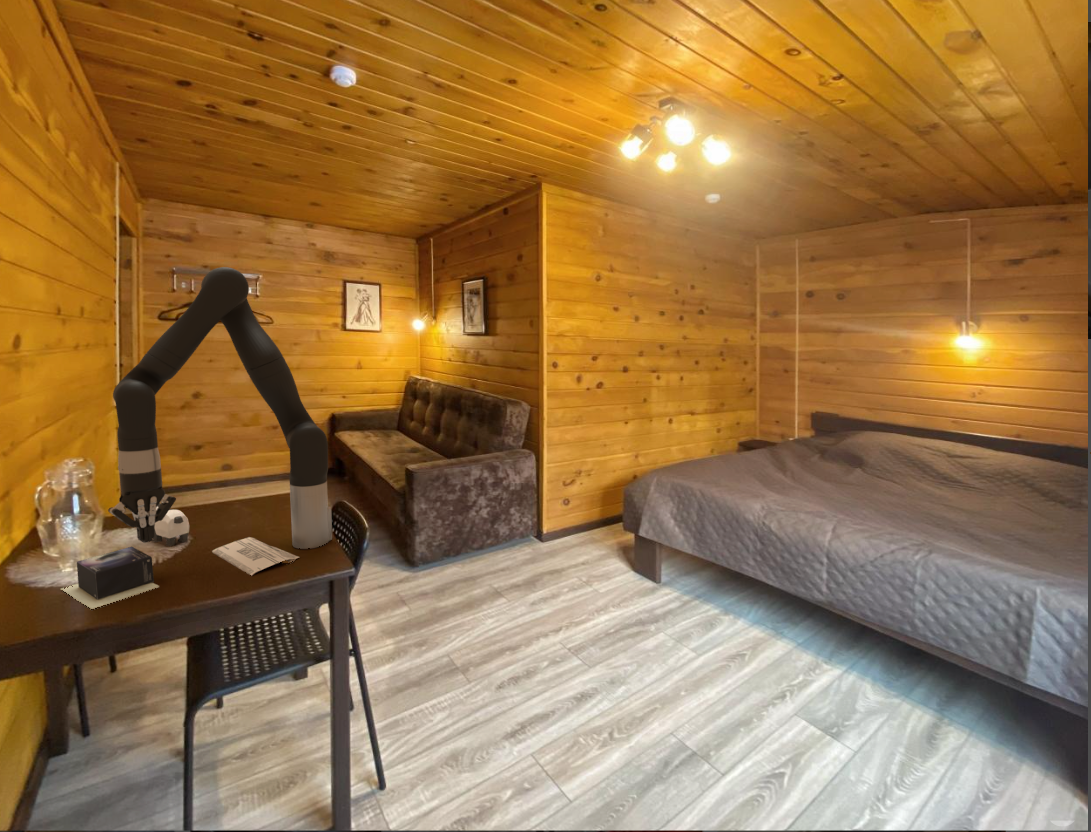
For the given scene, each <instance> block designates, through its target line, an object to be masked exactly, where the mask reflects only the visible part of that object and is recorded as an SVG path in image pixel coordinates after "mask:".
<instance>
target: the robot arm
mask: <svg viewBox="0 0 1091 832" xmlns="http://www.w3.org/2000/svg"><path fill="white" fill-rule="evenodd" d="M200 286H201V287H200V290H199V292H198V294H196V295H197V296H196V297H195V299H194V300H193V301H192V303H191V304H190V305H189V306H188V308H187V309H186V310H185V311H184V312H183V314H182V315H181V316H179V318H178V319H177V320H176V321H175V322H174V323H173V324H172V325H170V327H169V328H168V329H167V330H166V331H164V333H162V334H161V336H160V337H159V338H158V339H157V340H156V341H155V343H154V344H153V345H152V346H150V348H149V349H148V350H147V352H146V353H145V354H144V355H143V356H142V358H141V360H140V361H139V362H138V364H136V365H135V366H134V367H133V368H132V369H131V370H130V371H129V372H128V373H127V374H126V375H125V376H123V378H122V379H121V380H120V381H119V382H118V383H117V385H116V386H115V387H114V389H113V392H112V397H113V400H114V402H115V409H116V414H117V415H116V416H117V417H116V418H117V423H118V427H117V433H116V434H117V435H116V436H117V447H118V457H117V461H118V462H117V464H118V465H117V468H118V469H117V470H118V475H119V484H120V486H119V487H120V497H119V499H118V501H119V502H118V503H117V504H116V505H115V506H111V507H109V508H108V510H107V511H108V513H109V514H111V515H113V516H114V517H115V518H116V519H118V521H120V522H122V523H123V524H125V525H126V526H129V527H131V528H136V537H137V540H138V541H140V542H141V543H144V544H146V543H149V542H153V541H152V540H153V538H154V536H155V534H154V524H155V523H156V522H157V521H161V520H163V518H164V517H165V515H166V514H167V512H168V511H169V510H171V508H172V507H173V505H174V503H175V502H176V501H177V498H176V497H174V496H173V495H168V494H166V491H165V489H164V488H163V475H162V465H161V456H160V455H161V454H160V451H159V444H158V432H157V428H156V418H157V416H156V414H157V413H156V412H157V408H156V407H157V401H156V395H157V393H158V392H159V391H160V390H161V389H162V387H163V386H164V385H165V384H166V382H168V381H170V380H172V379H173V378H174V377H175V376H176V375H177V373H179V371H180V370H181V369H182V368H183V367H184V365H185V364H186V363H187V362H188V360H189V359H190V358H191V357H192V356H193V354H194V352H196V350H197V349H198V348H199V346H200V345H201V343H202V342H203V341H204V340H205V338H207V336H208V334H209V333H210V332H211V331H212V330H213V328H214V327H215V326H216V325H217V324H218V323H219V322H221V323H222V325H223V327H224V329H226V332H227V333H228V335H229V337H230V339H231V342H232V344H233V347H234V349H235V351H236V353H237V355H238V357H239V360H240V361H241V363H242V366H243V367H244V370H245V372H247V374H248V376H249V378H250V380H251V382H252V384H253V385H254V386H255V388H256V390H257V392H258V393H259V394H260V396H261V397H262V399H263V400H264V402H265V403H266V404H267V406H268V407H269V409H271V410H272V411H271V412H273V414H274V416H275V417H276V420H277V421H278V424H279V426H280V429H281V431H282V433H283V436H284V439H285V442H286V445H287V447H288V449H289V462H290V464H289V465H290V467H289V468H290V470H289V476H288V477H289V480H288V481H289V497H290V498H289V499H290V501H289V502H290V518H291V519H290V520H291V522H290V523H291V541H292V542H291V543H292V546H293V548H295V549H299V548H300V549H301V550H309V549H308V548H310V549H316V548H320V547H322V545H323V546H325V545H327V544H328V543H329V542H330V541H331V540H333V525H332V522H333V520H332V507H331V506H329V502H328V501H329V500H328V499H329V498H328V471H329V444H328V438H327V437H328V436H327V435H326V433H325V432H324V430H322V429H321V428H320V427H319V426H318V425H317V424H316V423H315V421H314V419H312V417H311V416H310V414H309V412H308V410H306V407H305V406H304V404H303V402H302V399H301V397H300V393H299V391H298V387H297V385H296V382H295V379H294V376H293V373H292V371H291V369H290V367H289V365H288V363H287V361H286V359H285V357H284V355H283V354H282V352H281V350H280V349H279V347H278V346H277V344H276V343H275V342H274V341H273V339H272V338H271V336H269V333H267V332H266V330H264V328H263V327H262V325H261V324H260V322H258V320H257V318H256V316H255V313H254V312H253V310H252V308H251V306H250V302H249V301H248V296H249V291H250V286H249V281H248V280H247V278H246V277H245V275H244V274H243V273H241V271H239V270H237V269H235V268H232V267H227V266H222V267H217V268H213V269H212V270H210V271H209V272H208V273H206V275H205V276H204V277H203V279H202V280H201V285H200ZM159 503H160V506H159V507H158V509H157V510H156V507H157V506H158V505H159ZM125 508H126V509H127V510H128V511H129V512H131V513H132V517H133V519H132V518H130V516H129V515H127V514H125V513H126V509H125ZM326 543H327V544H326ZM324 544H325V545H324ZM319 546H320V547H319Z"/></svg>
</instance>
